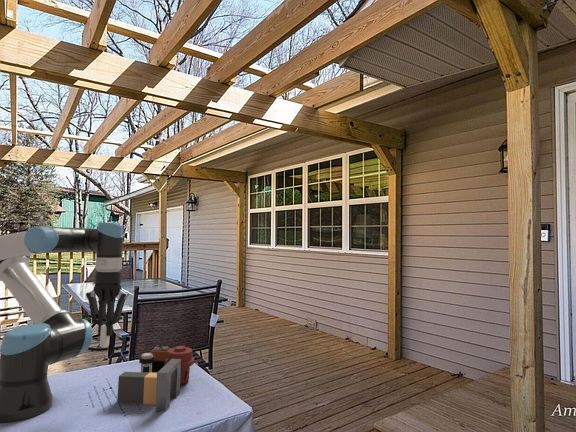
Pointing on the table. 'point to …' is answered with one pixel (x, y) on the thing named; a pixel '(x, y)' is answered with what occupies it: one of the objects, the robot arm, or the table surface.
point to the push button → (146, 362)
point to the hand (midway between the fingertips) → (104, 346)
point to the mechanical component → (182, 361)
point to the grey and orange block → (137, 388)
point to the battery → (159, 358)
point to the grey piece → (167, 384)
